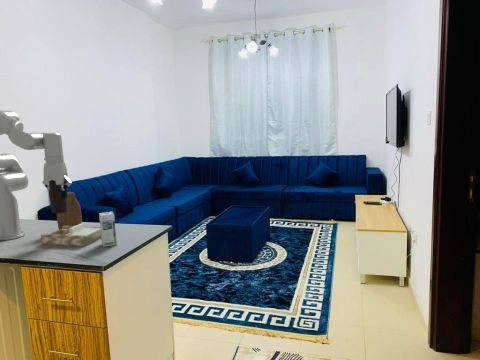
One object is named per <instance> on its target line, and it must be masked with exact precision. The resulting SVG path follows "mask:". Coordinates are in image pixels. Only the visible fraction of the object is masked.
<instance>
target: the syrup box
mask: <svg viewBox="0 0 480 360" xmlns="http://www.w3.org/2000/svg"><path fill="white" fill-rule="evenodd" d="M98 217H99V227H100V229H101V238H100V239H101V244H102V246H103V247H104V248H105V247H110V246H116V245H117V243H118V242H117V233H116V232H117V231H116V222H115V213H114V212H113V211H109V212H108V211H107V212H100V213H98Z"/></svg>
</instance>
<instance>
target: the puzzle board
mask: <svg viewBox="0 0 480 360" xmlns="http://www.w3.org/2000/svg"><path fill="white" fill-rule="evenodd" d="M71 227H74V226H62V229H60V230H59V229H58V230H56V231H55V230H54V231H53V232H50V233H41V234H40V239H41V240H40V241H41V245H46V246H47V245H48V246H65V247H66V246H68V247H86V246H87V245H90V244H92V243H93V242H95V241H98V240H100V239H101V231H99V232H97V233H95V234H93V235H90V236H88V237H84V236H77V235H66V234H68V233H69V228H71ZM85 228H100V226H85Z"/></svg>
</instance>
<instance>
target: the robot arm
mask: <svg viewBox="0 0 480 360" xmlns="http://www.w3.org/2000/svg"><path fill="white" fill-rule="evenodd" d="M24 128H25V127H24V124H23V123H22V121H21V120H20V117H19V115H18V114H17V113H16V112H14V111H11V110H0V136H1V135H4V134H5V136H7V137H8V139H9V141H10V143H12V144H13V145H14V146H16V147H19V148H20V149H23V150H27V151H34V150H35V151H36V150H43V152H44V159H43V160H44V161H45V163H44V164H43V180H42V182H41V183H42V184H43V186H44V187H45V188H46V190H47V191H48V196H49V197H48V198H49V199H50V191H49V181H50V180H54V181H56V185H61V189H62V191H61V197H62V199H66V198H67V192H68V190H69V187H70V186H71V185H72V181H71V180H70V178H69V176H68V175H69V174H68V169H67V164H66V162H65V160H64V150H63V141H62V135H61V134H60V133H59V132H48V133H47V132H28V133H27V132H25V131H24ZM63 185H65V186H64V187H63ZM28 186H29V178H28V175H27V174H26V171H25V170H24V168H23V166H22V165H21V164H20V162H19V160H18V158H16V156H14V155H13V154H11V153H0V241H9V240H13V239H14V240H15V239H18V238H21V237H23V236H25V235H26V232H25V231H23V230H22V229H21V227H22V226H21V220H20V219H21V218H20V213H19V203H18V200H17V198H16V196H15V194H14V193H13V192H17V191H22V190H25V189H26V188H27V187H28Z"/></svg>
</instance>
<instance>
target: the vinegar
mask: <svg viewBox="0 0 480 360" xmlns="http://www.w3.org/2000/svg"><path fill="white" fill-rule="evenodd" d="M64 186H65V185H63V187H64ZM49 191H50V198H49V199H50V200H49V201H50V207H51V213H52V214H57V213H64V212H67V211H68V207H67V198H66V199H62V197H61V191H62V189H61V185H56V181H54V180H50V181H49ZM49 191H48V192H49Z"/></svg>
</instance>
